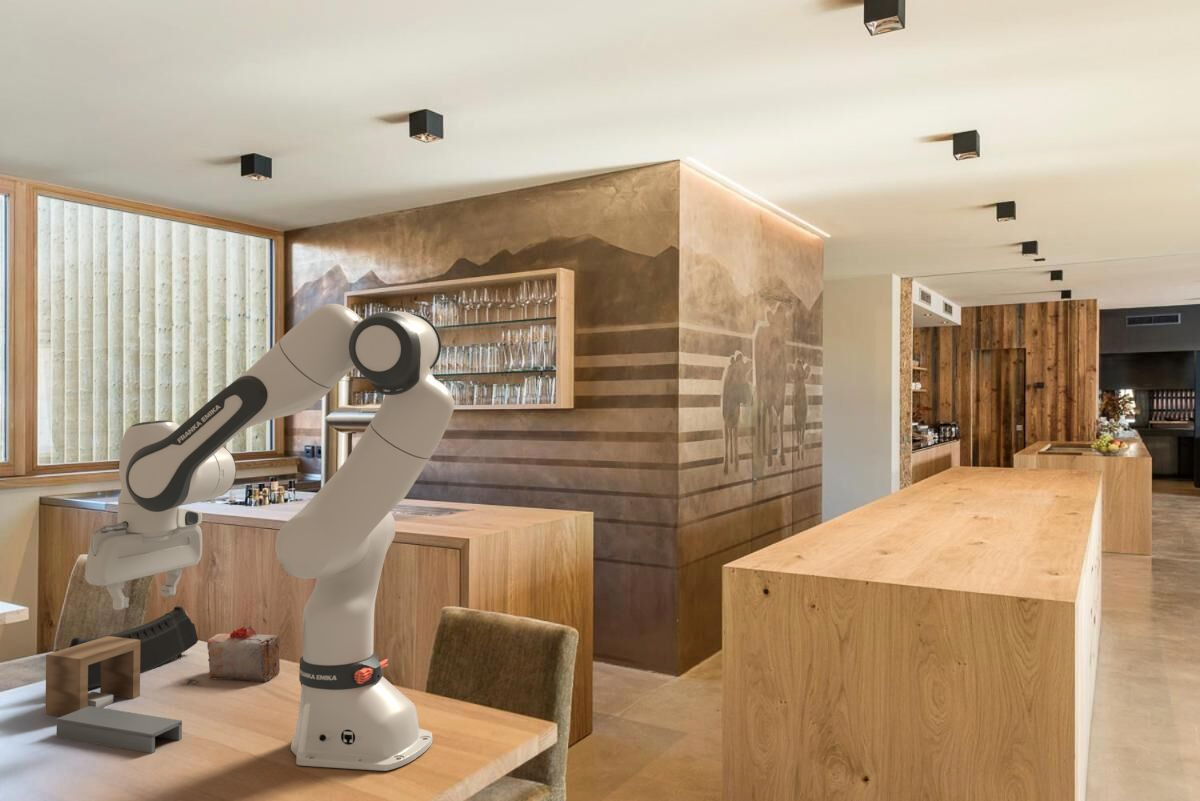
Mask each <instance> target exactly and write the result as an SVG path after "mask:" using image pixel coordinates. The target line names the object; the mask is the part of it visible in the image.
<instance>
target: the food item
mask: <svg viewBox="0 0 1200 801" xmlns="http://www.w3.org/2000/svg"><path fill="white" fill-rule="evenodd" d="M280 641H281V638H280V636H279V635H275V634H274V635H273V634H261V633H260V634H259V633H256V630H254V629H253V628H252V625H249V627H247V628H246V627H245V626H242V627H241V628H240V627H239V628H237V629H235V630H233V632H231V633H230V632H229V633H217V634H215V635H214V636H212V637H211V638H209V639H207V644H206V645H207V651H208V652H207V653H208V659H207V661H208V664H209V665H208V666H209V667H208V668H209V676H208V677H209V678H208V679H212V678H216V679H215V680H217V679H218V680H219V679H220V680H235V679H239V681H250V680H254V681H253V682H263V681H264V682H268V681H269V680H272V679H273V678H275V677H277V676H278V675H279V674H280V672H281V671H280V670H281V668H280V667H281V666H280V658H281V654H280V651H281V644H280V643H281V642H280ZM276 675H277V676H276ZM274 676H275V677H274ZM271 678H272V679H271ZM267 680H268V681H267Z"/></svg>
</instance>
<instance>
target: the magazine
mask: <svg viewBox="0 0 1200 801" xmlns="http://www.w3.org/2000/svg"><path fill="white" fill-rule="evenodd" d="M173 607H174V608H173V609H172V610H171V611H169V612H167V613H165V614H164V615H161V616H160V617H157V618H155V619H153V620H152V621H149V622H147V623H144V624H142V625H141V624H140V625H139V626H136V627H134V628H129V629H127V630H124V631H119V632H116V633H111V634H107V635H104V636H99V637H93V638H92V637H91V638H80V637H74V638H72V639H71V641H70V645H69V646H68V648H69V647H73V646H76V645H79V644H83V643H86V642H89V641H93V640H96V639H99V638H103V637H106V636H113V637H121V638H129V639H137V640H140V675H141V674H144V673H147V672H149V671H151V670H153V669H156V668H157V667H159V666H161V665H163V664H165V663H168V661H171V660H173V659H174V658H176V657H177V658H179V657H182V658H183V655H182V654H184V653H185V652H187V651H188V650H190V649H191V648H192V647H193V646H195V645H196V644H197V643H198V642H199V638H198V634H197V633H198V632H197V630H196V626H195V623H193V622H192V621H191V618H190V616H189V614H188V612H187V610H186V609H184V607H183V606H173ZM100 673H101V661H99V662H96V663H93V664H90V665H88V689H90V688H96V687H100Z"/></svg>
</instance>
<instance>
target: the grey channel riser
mask: <svg viewBox="0 0 1200 801" xmlns="http://www.w3.org/2000/svg"><path fill="white" fill-rule="evenodd" d="M182 736H183V720H181V719H174V718H170V717H169V718H167V717H162V716H155V715H150V714H142V713H137V712H130V711H122V710H118V709H112V708H104V707H102V708H99V707H93V706H88V707H85V708H83V709H80V710H77V711H75V712H72V713H70V714H67V715H64V716H62V717H61V716H58V717H57V718H56V738H62V739H63V738H64V739H69V740H73V741H74V740H75V741H80V742H86V743H89V744H90V743H91V744H97V745H102V746H106V747H113V748H120V749H124V750H125V749H126V750H130V751H137V752H141V753H147V752H148V753H149V754H153V753H155V752H156V750H155V749H156V737H158V738H161V739H162V738H163V739H164V738H165V739H170V740H174V739H176V741H180V740H182V738H183V737H182Z"/></svg>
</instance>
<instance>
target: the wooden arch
mask: <svg viewBox="0 0 1200 801" xmlns="http://www.w3.org/2000/svg"><path fill="white" fill-rule="evenodd" d="M105 636H106V637H103V636H102V637H103V638H99V639H96V640H93V641H89V642H86V643H83V644H79V645H76V646H73V647H69V646H68V647H67V648H63V649H59V650H57V651H54V652H50V653H46V654H45V711H44V712H45V715H49V716H56V717H62V716H64V715H67V714H70V713H72V712H75V711H77V710H80V709H83V708H85V707H88V706H93V707H99V708H104V707H107V706H109V705H112V704H114V697H121V698H129V699H136V698H139V697H140V696H141V674H140V640H137V639H129V638H121V637H113V636H107V635H105ZM99 661H101V673H100V686H99V688H100V689H99V690H100V692H99V691H98V692H97V691H90V692H89V691H88V690H89V688H88V665H90V664H93V663H96V662H99Z"/></svg>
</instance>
